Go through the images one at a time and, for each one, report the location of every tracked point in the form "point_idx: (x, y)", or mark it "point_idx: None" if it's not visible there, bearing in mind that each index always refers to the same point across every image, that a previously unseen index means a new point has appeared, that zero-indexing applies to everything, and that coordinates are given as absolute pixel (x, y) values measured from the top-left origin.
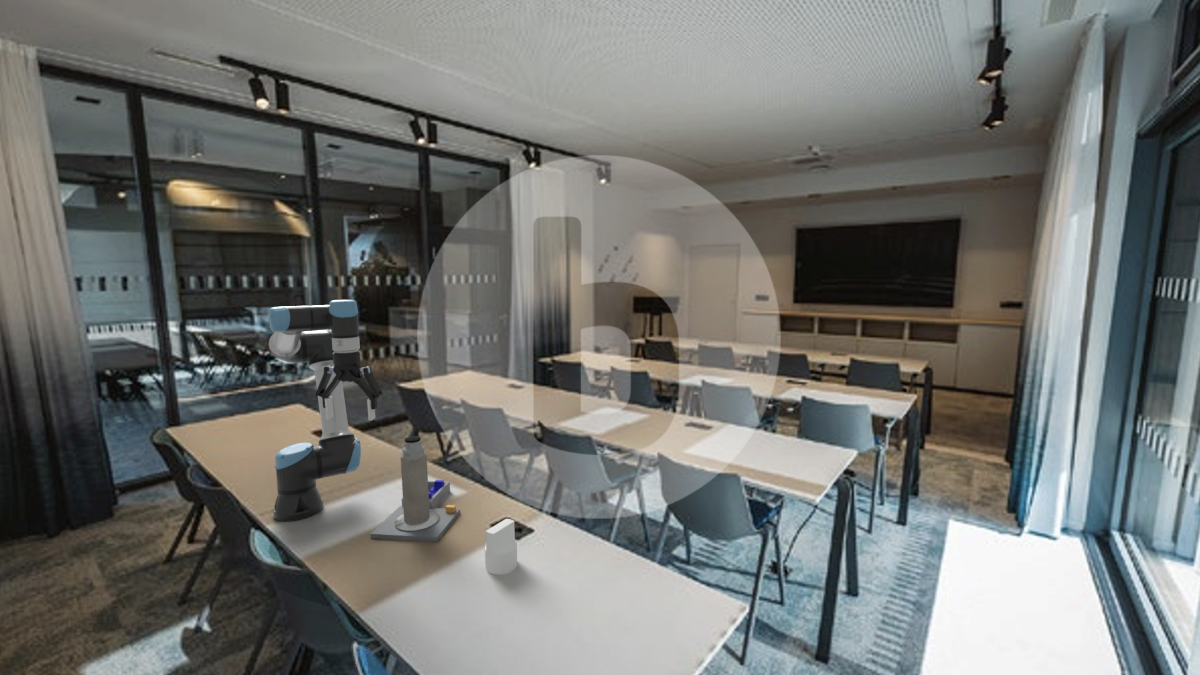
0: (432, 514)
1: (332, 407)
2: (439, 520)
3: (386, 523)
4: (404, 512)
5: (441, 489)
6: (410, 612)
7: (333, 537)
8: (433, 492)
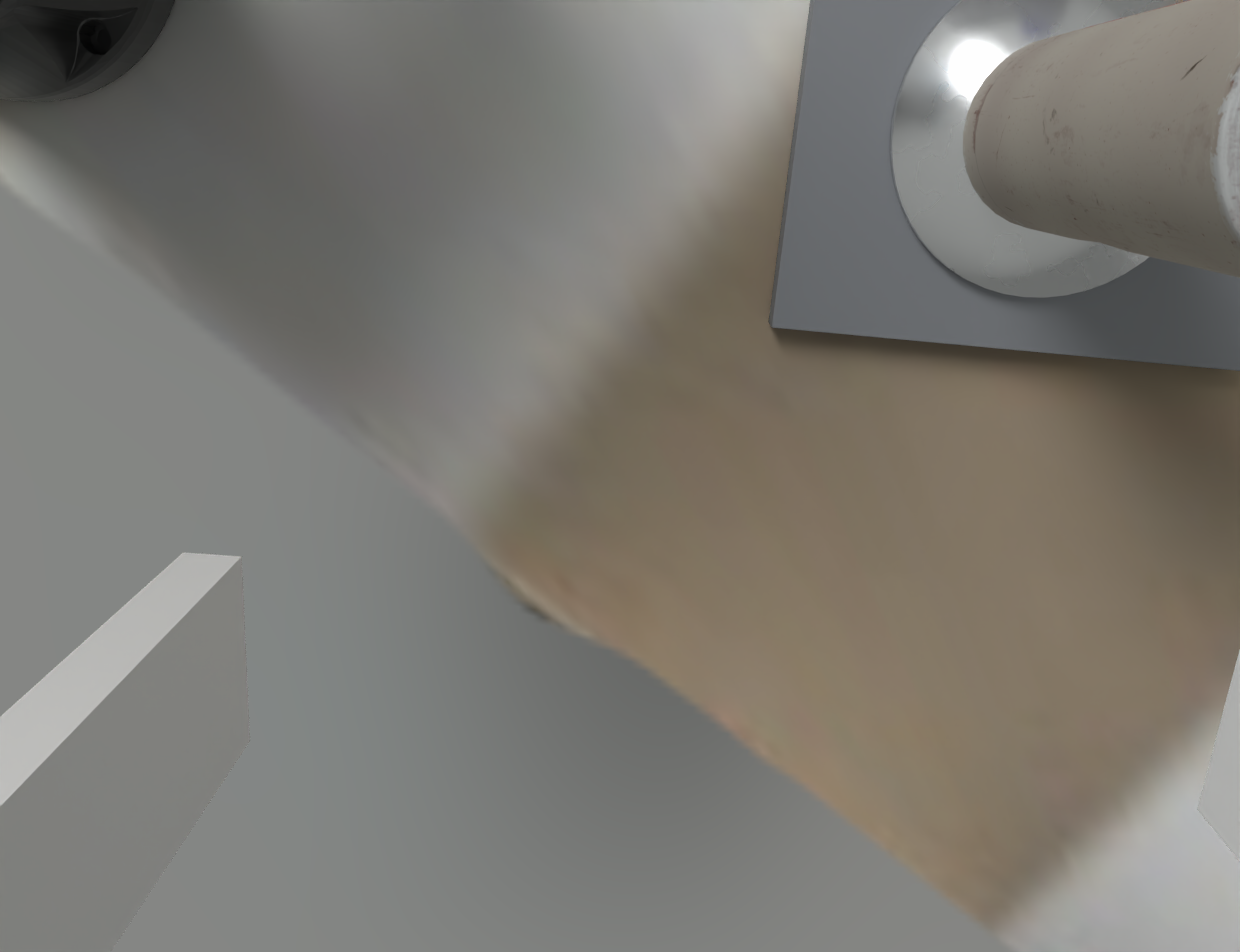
0: None
1: (131, 692)
2: None
3: (830, 179)
4: (1007, 206)
5: None
6: (1212, 938)
7: (518, 315)
8: None
